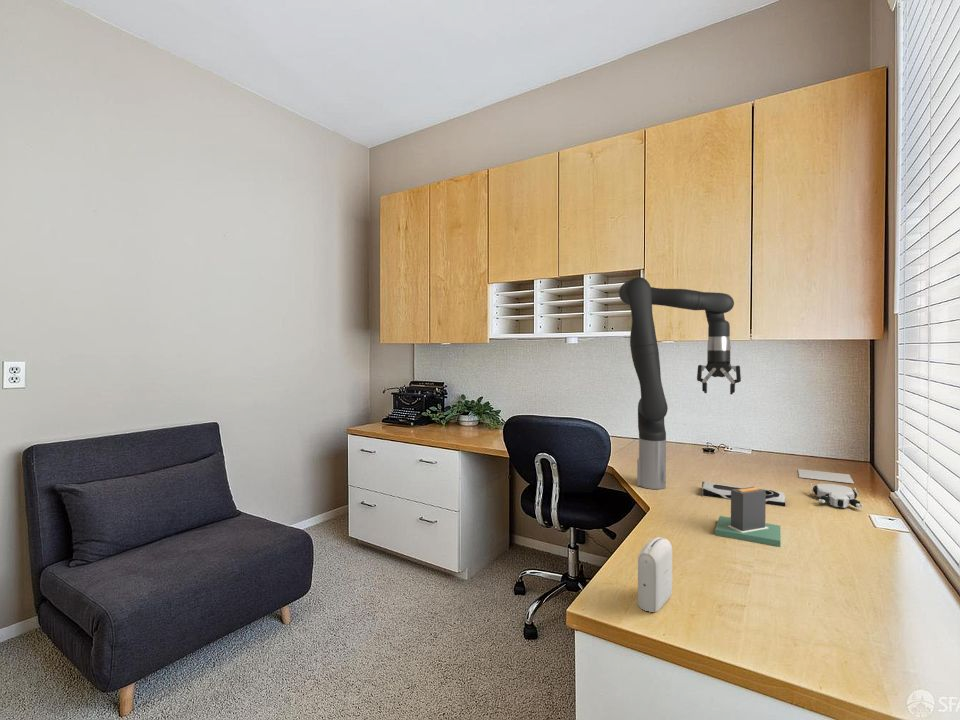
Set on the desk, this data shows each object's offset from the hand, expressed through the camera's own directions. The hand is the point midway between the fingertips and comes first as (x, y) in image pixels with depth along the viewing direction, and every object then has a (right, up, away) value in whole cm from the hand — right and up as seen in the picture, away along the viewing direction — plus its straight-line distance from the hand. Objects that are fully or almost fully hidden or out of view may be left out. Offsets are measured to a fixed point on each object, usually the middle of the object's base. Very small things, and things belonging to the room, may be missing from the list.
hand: (718, 393), depth 177 cm
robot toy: (+27, -34, -21) cm, 49 cm away
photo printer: (-52, -37, -79) cm, 102 cm away
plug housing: (-14, -33, -45) cm, 58 cm away
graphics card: (0, -34, -15) cm, 38 cm away
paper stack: (+39, -33, +7) cm, 52 cm away
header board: (-14, -35, -45) cm, 59 cm away
